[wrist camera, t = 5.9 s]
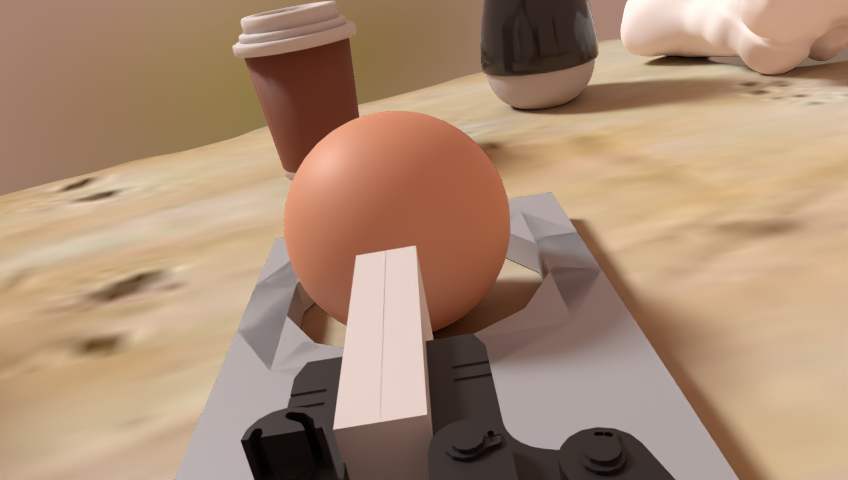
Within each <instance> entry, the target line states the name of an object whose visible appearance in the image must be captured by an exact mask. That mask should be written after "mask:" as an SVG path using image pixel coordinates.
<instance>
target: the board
mask: <svg viewBox="0 0 848 480" xmlns="http://www.w3.org/2000/svg"><path fill="white" fill-rule="evenodd" d="M508 204H509V209H510V239H509V245H508V250H507V254H506V257H505V258H507V259H510V260H512V261H514V262H516V263H519V264H521V265H523V266H525V267H528V268H530V269H532V270H534V271H537V272H539V274H540V276H541V278H542V280H543V282H542V284H541V285H540V287H539V288H538V290H537V291H536V293H535V294H534V296H533V297H532V299H531V300H530V301H529V303H528V304H527V306H526V307H525V308H524V309H522V310H520V311H518V312H516V313H514V314H512V315H510V316H508V317H506V318H504V319H502V320H500V321H498V322H496V323H494V324H492V325H490V326H488V327H486V328H484V329H482V330H480V331H478V332H476V333H474V335H475V336H476V337H477V338H478V339H479V340H480V341H482V342H483V343H484V344H485V345H486V350H487V354H488V358H489V363H490V367H491V372H492V376H493V380H494V385H495V389H496V393H497V398H498V402H499V407H500V411H501V415H502V420H503V423H504V426H505V428H506V430H507V431H508V432H509V433H510V435H511V436H512V437H514V438H515V439H517V440H518V441H520V442H521V443H524V444H527V445H529V446H532V447H537V448H543V449H553V450H560V447H561V446H562V444H563V443H564V442H565V441H566V440H567V438H568V437H569V436H571V435H573V434H575V433H577V432H579V431H581V430H585V429H590V428H595V427H603V428H615V429H618V430H621V431H624V432H626V433H629V434H631V435H632V436H634V437H635V438H636V439H638V440H639V441H640V442H642V443H643V444H644V446H645V447H646V448H647V449H648V450H649V451H650V452H651V453H652V454H653V455H654V456H655V458H656V459H657V460H658V461H659V462H660V463H661V464H662V465H663V466H664V467H665V469H666V470H667V471H668V472H669V473H670V474H671V475H672V476H673V477H674V478H675V480H739V479H738V477H737V476H736V474H735V473H734V471H733V469H732V468H731V466H730V465H729V463H728V462H727V460H726V459H725V457H724V456H723V454H722V453H721V451H720V450H719V448H718V446H717V445H716V443H715V442H714V440H713V439H712V437H711V436H710V434H709V433H708V431H707V430H706V428H705V427H704V425H703V424H702V422H701V420H700V419H699V417H698V416H697V414H696V413H695V411H694V410H693V408H692V407H691V405H690V404H689V402H688V401H687V399H686V398H685V396H684V394H683V393H682V391H681V390H680V388H679V387H678V385H677V384H676V382H675V381H674V379H673V378H672V376H671V375H670V373H669V371H668V370H667V368H666V367H665V365H664V364H663V362H662V361H661V359H660V358H659V356H658V355H657V353H656V352H655V350H654V349H653V347H652V345H651V344H650V342H649V341H648V339H647V338H646V336H645V335H644V333H643V332H642V330H641V329H640V327H639V326H638V324H637V322H636V321H635V319H634V318H633V316H632V315H631V313H630V312H629V310H628V309H627V307H626V306H625V304H624V303H623V301H622V300H621V298H620V296H619V295H618V293H617V292H616V290H615V289H614V287H613V286H612V284H611V283H610V281H609V280H608V278H607V277H606V275H605V273H604V272H603V270H602V269H601V267H600V266H599V264H598V263H597V261H596V260H595V258H594V257H593V255H592V254H591V252H590V251H589V249H588V247H587V246H586V244H585V243H584V241H583V240H582V238H581V237H580V235H579V234H578V232H577V231H576V229H575V228H574V226H573V224H572V223H571V221H570V220H569V218H568V217H567V215H566V214H565V212H564V211H563V209H562V208H561V206H560V205H559V203H558V202H557V200H556V198H555V197H554V195H553V194H552V192H547V193H541V194H535V195H529V196H523V197H518V198H512V199H508ZM314 303H315V302H314V300H313V299H312V298H311V297H310V296H309V295H308V293H307V292H306V291H305V290H304V288H303V286H302V284H301V283H300V281H299V279H298V277H297V276H296V274H295V272H294V270H293V267H292V265H291V262H290V260H289V256H288V252H287V248H286V243H285V237H284V238H278V239H275V241H274V244H273V246H272V249H271V251H270V253H269V256H268V258H267V260H266V263H265V265H264V268H263V270H262V272H261V275H260V277H259V279H258V282H257V284H256V286H255V289H254V291H253V294H252V296H251V298H250V301H249V303H248V305H247V308H246V310H245V313H244V315H243V317H242V320H241V322H240V324H239V327H238V329H237V332H236V334H235V336H234V339H233V341H232V343H231V346H230V348H229V350H228V353H227V355H226V358H225V360H224V362H223V365H222V367H221V369H220V372H219V374H218V377H217V379H216V381H215V384H214V386H213V388H212V391H211V393H210V395H209V398H208V400H207V403H206V405H205V407H204V410H203V412H202V414H201V417H200V419H199V422H198V424H197V426H196V429H195V431H194V433H193V436H192V438H191V440H190V443H189V445H188V448H187V450H186V452H185V455H184V457H183V459H182V462H181V464H180V467H179V469H178V471H177V474H176V476H175V478H174V480H254V478H253V475H252V472H251V469H250V466H249V464H248V461H247V458H246V455H245V452H244V449H243V446H242V444H241V441H240V440H241V439H242V437H243V435H244V434H245V432H246V430H247V429H248V428H249V427H250V426H251V425H253V424H254V423H255V422H256V421H257V420H258V419H260V418H262V417H264V416H266V415H268V414H269V413H271V412H274V411H277V410H281V409H285V408H287V406H288V402H289V398H291V396H290V394H291V390H292V386H293V381H294V378H295V377H296V376H297V374H298V373H299V372H300V371H301V369H302V368H303V367H304V366H305V365H306V363H307V362H312V361H318V360H324V359H330V358H336V357H342V356H343V351H344V348H343V347H337V346H331V345H324V344H318V343H314V342H313V341H312V340H311V339H310V338H309V337H308V336H307V335H306V334H305V333H304V332H303V331H302V330H301V329H300V327H301V323H302V319H303V315H304V312H305V311H306V310H307V309H308V308H310V307H311V306H312V305H313V304H314Z"/></svg>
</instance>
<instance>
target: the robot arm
mask: <svg viewBox="0 0 848 480" xmlns="http://www.w3.org/2000/svg"><path fill="white" fill-rule="evenodd" d="M290 396H291V398H289V402H288V406H287V408H285V409H281V410H277V411H274V412H271V413H269V414H268V415H266V416H264V417H262V418H260V419H258V420H257V421H256V422H255V423H254V424H253V425H251V426H250V427H249V428H248V429H247V430H246V432H245V434H244V435H243V437H242V439H241V440H240V441H241V444H242V446H243V449H244V452H245V455H246V458H247V461H248V464H249V466H250V469H251V472H252V475H253V478H254V480H675V478H674V477H673V476H672V475H671V474H670V473H669V472H668V471H667V470H666V469H665V467H664V466H663V465H662V464H661V463H660V462H659V461H658V460H657V459H656V458H655V456H654V455H653V454H652V453H651V452H650V451H649V450H648V449H647V448H646V447H645V446H644V444H643V443H642V442H640V441H639V440H638V439H636V438H635V437H634V436H632V435H631V434H629V433H626V432H624V431H621V430H618V429H615V428H603V427H595V428H590V429H585V430H581V431H579V432H577V433H575V434H573V435H571V436H569V437H568V438H567V440H566V441H565V442H564V443H563V444H562V446H561V447H560V450H553V449H543V448H537V447H532V446H529V445H527V444H524V443H521V442H520V441H518V440H517V439H515V438H514V437H512V436H511V435H510V433H509V432H508V431H507V430H506V428H505V426H504V423H503V420H502V415H501V411H500V407H499V402H498V398H497V393H496V389H495V385H494V380H493V376H492V372H491V367H490V363H489V358H488V354H487V350H486V345H485V344H484V343H483V342H482V341H480V340H479V339H478V338H477V337H476V336H475V335H474V334H473V333H471V334H465V335H459V336H453V337H447V338H441V339H435V340H434V339H433V334H432V329H431V323H430V318H429V313H428V307H427V302H426V297H425V292H424V286H423V281H422V276H421V270H420V265H419V260H418V255H417V249H416V246H410V247H404V248H398V249H392V250H386V251H380V252H374V253H368V254H362V255H357V256H356V260H355V268H354V275H353V283H352V291H351V298H350V306H349V313H348V321H347V328H346V336H345V343H344V351H343V356H342V357H336V358H330V359H324V360H318V361H312V362H307V363H306V365H305V366H304V367H303V368H302V369H301V371H300V372H299V373H298V374H297V376H296V377H295V378H294V381H293V386H292V390H291V394H290Z"/></svg>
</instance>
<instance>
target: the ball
mask: <svg viewBox="0 0 848 480" xmlns="http://www.w3.org/2000/svg"><path fill="white" fill-rule="evenodd" d="M284 236H285V243H286V248H287V252H288V256H289V260H290V262H291V265H292V267H293V270H294V272H295V274H296V276H297V277H298V279H299V281H300V283H301V284H302V286H303V288H304V290H305V291H306V292H307V293H308V295H309V296H310V297H311V298H312V299H313V300H314V302H315V303H316V304H317V305H318V306H319V307H320V308H322V309H323V310H324V311H325V312H326V313H327V314H329V315H330V316H331V317H333V318H334V319H336V320H338V321H339V322H341V323H343V324H345V325H346V326H347V321H348V313H349V306H350V298H351V291H352V283H353V275H354V268H355V260H356V256H357V255H362V254H368V253H374V252H380V251H386V250H392V249H398V248H404V247H410V246H416V249H417V255H418V260H419V265H420V270H421V276H422V281H423V286H424V292H425V297H426V302H427V307H428V313H429V318H430V323H431V329H432V332H434V331H437V330H439V329H442V328H444V327H446V326H448V325H450V324H452V323H454V322H456V321H457V320H459V319H460V318H462V317H463V316H465V315H466V314H467V313H468V312H469V311H471V310H472V309H473V308H474V307H475V306H476V305H477V304H478V303H479V302H480V301H481V300H482V299H483V298H484V297H485V295H486V294H487V293H488V291H489V290H490V289H491V287H492V286H493V284H494V283H495V281H496V279H497V277H498V275H499V273H500V271H501V268H502V266H503V264H504V261H505V257H506V254H507V250H508V245H509V239H510V209H509V204H508V198H507V195H506V192H505V189H504V186H503V183H502V180H501V178H500V176H499V174H498V172H497V170H496V168H495V166H494V165H493V163H492V162H491V160H490V159H489V158H488V156H487V155H486V153H485V152H484V151H483V150H482V149H481V148H480V147H479V146H478V145H477V144H476V143H475V142H474V141H473V140H472V139H471V138H470V137H469V136H467V135H466V134H465V133H463V132H462V131H461V130H459V129H458V128H456V127H454V126H452V125H450V124H449V123H447V122H445V121H443V120H440V119H437V118H435V117H432V116H429V115H425V114H421V113H415V112H408V111H387V112H379V113H374V114H369V115H365V116H362V117H359V118H356V119H354V120H351V121H349V122H347V123H345V124H344V125H342V126H340V127H338V128H337V129H335V130H333V131H332V132H331V133H329V134H328V135H327V136H326V137H324V138H323V139H322V140H321V141H320V142H319V143H318V144H316V146H315V147H314V148H313V149H312V150H311V152H310V153H309V154H308V155H307V156H306V158H305V159H304V161H303V162H302V164H301V165H300V167H299V169H298V170H297V172H296V174H295V176H294V179H293V181H292V184H291V186H290V189H289V192H288V197H287V201H286V205H285V214H284Z"/></svg>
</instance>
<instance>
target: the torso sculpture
mask: <svg viewBox="0 0 848 480" xmlns="http://www.w3.org/2000/svg"><path fill="white" fill-rule="evenodd" d="M621 39H622V43H623V45H624V47H625V48H626V49H627V50H628V51H629V52H631V53H633V54H636V55H640V56H647V57H653V56H662V55H664V56H685V57H699V56H716V57H720V56H721V57H730V56H731V57H734V56H740V57H741V58H742V60H743V61H744V62H745V64H746V65H747V66H749V67H750V68H751V69H753V70H755V71H757V72H760V73H763V74H768V75H776V74H782V73H785V72H787V71H789V70H791V69H793V68H795V67H796V66H798V65H799V64H800V63H801V62H803V61H804V60H805V59H806V58H807V57H809V58H811V59H814V60H817V61H825V60H828V59H830V58H832V57H834V56H835V55H836V54H838V53H839V52H840V51H841V50H842V49H844V47H846V46H847V45H848V0H628V1H627V4H626V6H625V10H624V14H623V21H622V25H621Z"/></svg>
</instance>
